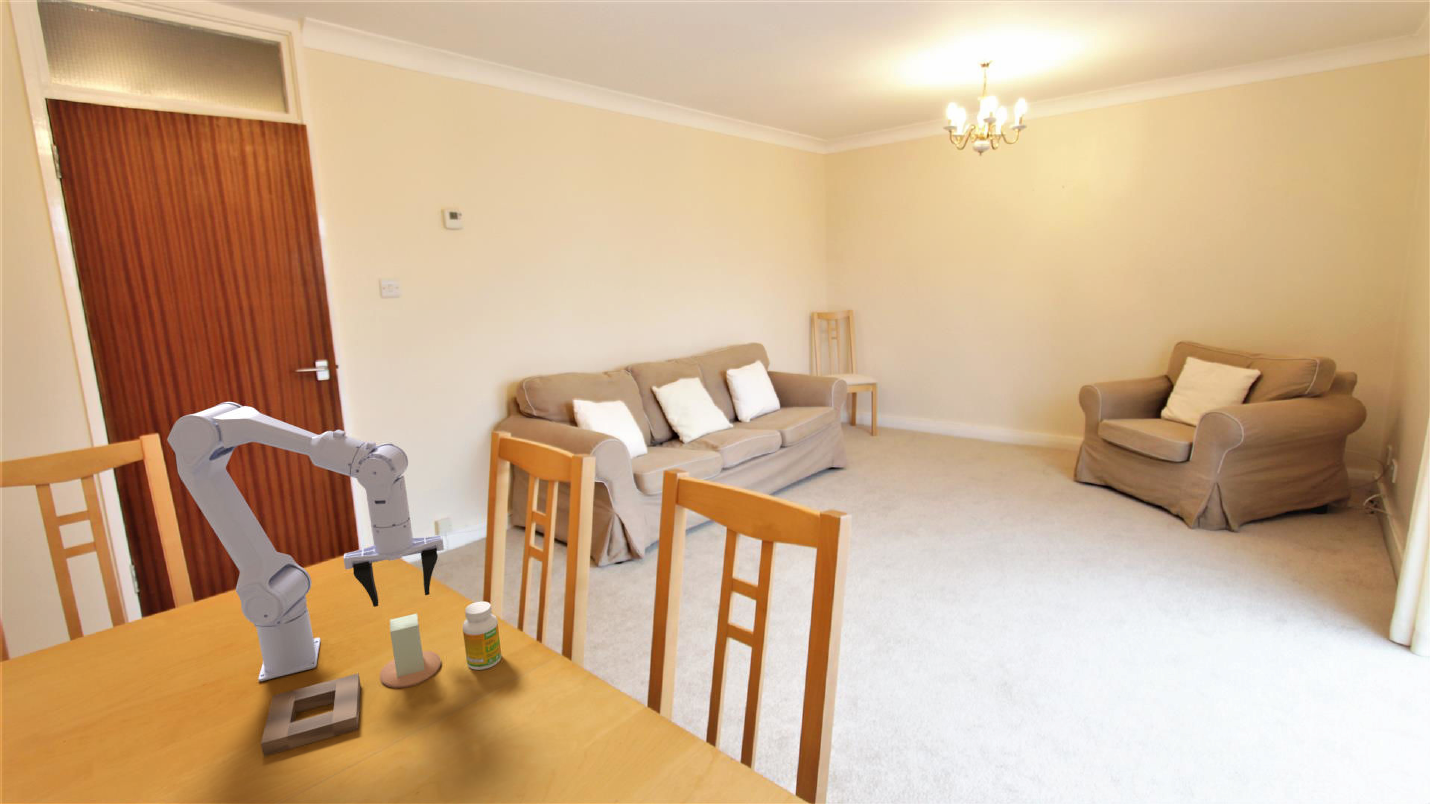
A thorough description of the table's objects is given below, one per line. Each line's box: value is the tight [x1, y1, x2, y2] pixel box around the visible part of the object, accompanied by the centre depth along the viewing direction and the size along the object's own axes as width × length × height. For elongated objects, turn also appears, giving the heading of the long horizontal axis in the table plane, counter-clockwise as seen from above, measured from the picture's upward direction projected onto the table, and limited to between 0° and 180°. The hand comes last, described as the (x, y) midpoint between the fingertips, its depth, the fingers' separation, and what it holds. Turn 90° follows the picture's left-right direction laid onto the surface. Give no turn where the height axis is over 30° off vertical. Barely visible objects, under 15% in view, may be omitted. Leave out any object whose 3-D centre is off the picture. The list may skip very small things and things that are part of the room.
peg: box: [389, 613, 424, 677], centre depth 108 cm, size 4×4×8 cm
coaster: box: [379, 650, 442, 689], centre depth 109 cm, size 9×9×1 cm
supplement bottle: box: [462, 601, 502, 671], centre depth 110 cm, size 5×5×10 cm
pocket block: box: [260, 673, 362, 757], centre depth 98 cm, size 11×11×2 cm
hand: (401, 598), depth 111 cm, fingers open, 7 cm apart
